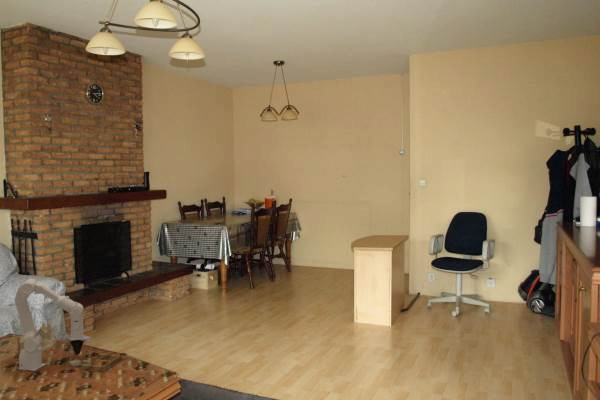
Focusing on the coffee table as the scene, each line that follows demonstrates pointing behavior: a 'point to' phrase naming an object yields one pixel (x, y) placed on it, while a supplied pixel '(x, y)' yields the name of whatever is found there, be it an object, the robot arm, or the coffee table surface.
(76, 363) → the lighter
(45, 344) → the ceramic cottage
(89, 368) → the holder
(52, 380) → the coffee table surface
